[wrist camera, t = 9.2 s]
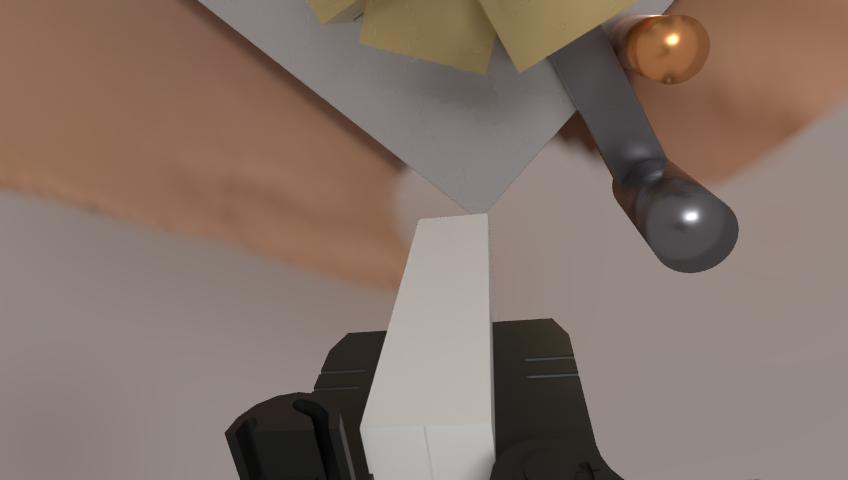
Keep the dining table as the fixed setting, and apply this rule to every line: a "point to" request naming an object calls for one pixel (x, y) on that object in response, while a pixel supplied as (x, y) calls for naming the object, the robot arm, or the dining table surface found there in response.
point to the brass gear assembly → (589, 90)
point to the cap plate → (456, 88)
